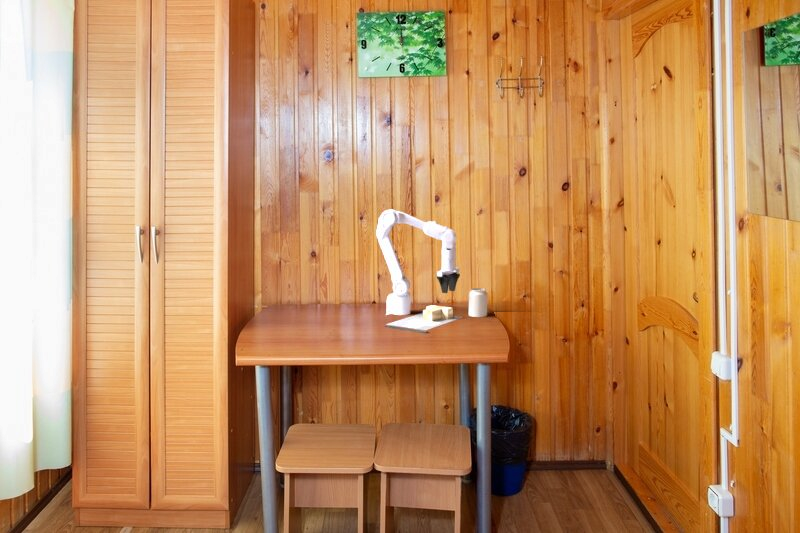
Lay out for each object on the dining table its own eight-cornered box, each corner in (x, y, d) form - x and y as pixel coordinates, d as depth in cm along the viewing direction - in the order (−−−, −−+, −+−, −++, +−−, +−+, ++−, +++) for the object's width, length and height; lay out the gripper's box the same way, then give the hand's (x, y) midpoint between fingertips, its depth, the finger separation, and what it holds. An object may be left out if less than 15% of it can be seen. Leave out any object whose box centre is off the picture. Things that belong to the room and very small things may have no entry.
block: (416, 319, 262) (416, 309, 261) (431, 314, 271) (431, 305, 270) (438, 322, 256) (438, 312, 256) (452, 317, 265) (452, 307, 265)
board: (385, 327, 253) (385, 324, 253) (424, 314, 276) (424, 312, 276) (425, 333, 243) (425, 330, 243) (462, 320, 266) (462, 317, 266)
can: (474, 315, 275) (475, 286, 274) (490, 317, 271) (491, 288, 269) (464, 318, 269) (465, 289, 268) (480, 320, 265) (481, 291, 263)
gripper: (448, 261, 261) (447, 295, 263) (466, 257, 273) (465, 290, 274) (432, 260, 265) (432, 293, 266) (451, 256, 277) (450, 288, 278)
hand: (448, 291), depth 271 cm, fingers open, 5 cm apart
